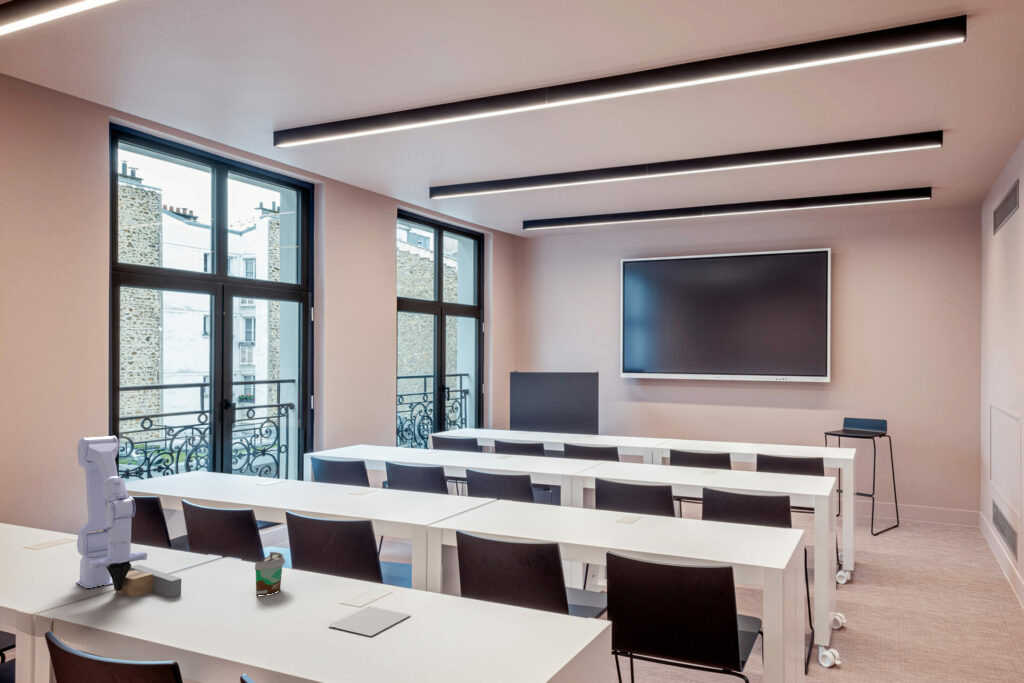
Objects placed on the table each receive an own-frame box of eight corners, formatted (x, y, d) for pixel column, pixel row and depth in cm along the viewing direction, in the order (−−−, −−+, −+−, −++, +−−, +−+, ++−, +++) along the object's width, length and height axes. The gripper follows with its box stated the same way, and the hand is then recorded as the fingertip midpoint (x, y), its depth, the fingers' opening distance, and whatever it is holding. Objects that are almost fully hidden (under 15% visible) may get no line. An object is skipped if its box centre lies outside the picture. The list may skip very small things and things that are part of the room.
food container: (275, 598, 198) (276, 563, 199) (254, 598, 198) (254, 562, 199) (290, 585, 210) (290, 551, 211) (270, 584, 211) (270, 551, 211)
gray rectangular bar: (128, 583, 212) (128, 566, 212) (138, 581, 214) (138, 564, 214) (170, 598, 198) (171, 581, 198) (180, 596, 200) (181, 578, 201)
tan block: (115, 592, 202) (116, 575, 202) (134, 587, 207) (135, 570, 208) (133, 597, 198) (133, 579, 199) (152, 591, 204) (152, 573, 204)
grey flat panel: (299, 621, 181) (299, 619, 181) (361, 594, 203) (361, 592, 203) (371, 638, 170) (371, 635, 170) (428, 608, 192) (428, 605, 192)
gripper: (96, 548, 191) (94, 599, 191) (151, 539, 202) (150, 586, 202) (87, 544, 196) (85, 593, 195) (142, 535, 207) (140, 581, 206)
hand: (118, 589), depth 199 cm, fingers closed
